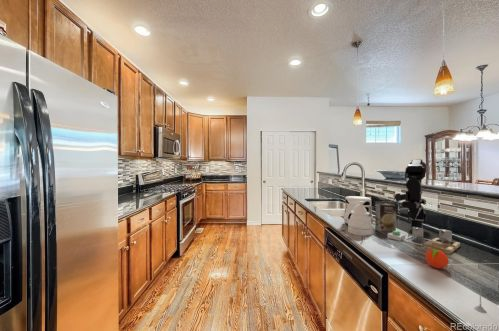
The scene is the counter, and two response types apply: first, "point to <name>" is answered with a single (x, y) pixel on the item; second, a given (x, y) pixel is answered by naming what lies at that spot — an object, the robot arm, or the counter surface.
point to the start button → (396, 233)
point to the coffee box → (385, 217)
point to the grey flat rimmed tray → (413, 242)
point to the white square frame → (400, 237)
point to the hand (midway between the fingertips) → (413, 219)
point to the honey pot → (360, 221)
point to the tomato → (437, 258)
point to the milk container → (353, 202)
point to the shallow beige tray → (441, 246)
